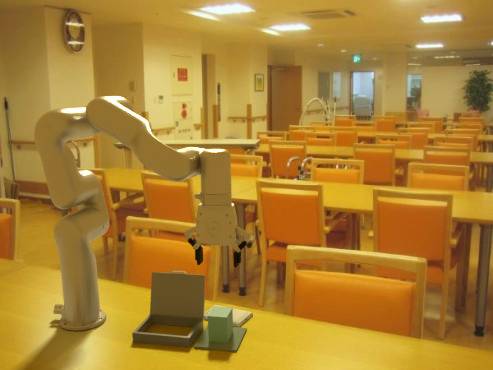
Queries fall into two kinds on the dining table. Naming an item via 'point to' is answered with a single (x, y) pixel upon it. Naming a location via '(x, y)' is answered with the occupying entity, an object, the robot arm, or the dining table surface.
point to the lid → (178, 294)
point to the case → (167, 339)
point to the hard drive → (234, 316)
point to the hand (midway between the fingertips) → (218, 264)
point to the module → (220, 324)
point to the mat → (230, 346)
